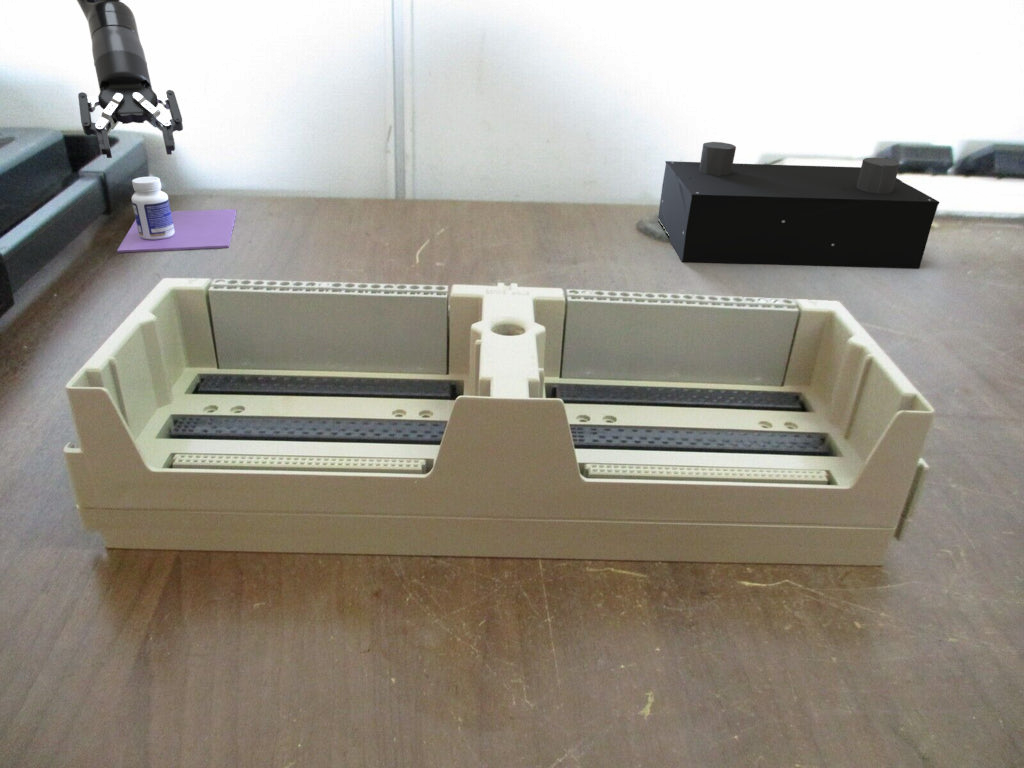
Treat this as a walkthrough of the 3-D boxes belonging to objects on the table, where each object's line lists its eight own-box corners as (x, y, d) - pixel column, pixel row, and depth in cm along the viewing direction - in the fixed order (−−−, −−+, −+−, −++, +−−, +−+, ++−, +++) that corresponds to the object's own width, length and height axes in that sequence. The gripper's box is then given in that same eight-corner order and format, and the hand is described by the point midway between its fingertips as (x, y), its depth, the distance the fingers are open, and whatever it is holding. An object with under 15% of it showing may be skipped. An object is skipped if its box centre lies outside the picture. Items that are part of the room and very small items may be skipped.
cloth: (117, 253, 116) (116, 250, 116) (140, 214, 133) (139, 212, 132) (228, 247, 119) (228, 245, 119) (236, 211, 136) (236, 208, 136)
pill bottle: (181, 231, 124) (171, 176, 120) (164, 241, 120) (153, 184, 115) (150, 229, 125) (139, 174, 120) (132, 239, 120) (120, 182, 116)
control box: (681, 261, 120) (696, 165, 113) (655, 216, 141) (665, 132, 134) (919, 268, 121) (948, 173, 114) (856, 222, 142) (878, 139, 135)
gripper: (66, 49, 116) (84, 142, 112) (167, 48, 121) (187, 136, 118) (75, 81, 122) (92, 170, 119) (170, 79, 128) (189, 163, 125)
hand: (139, 153), depth 118 cm, fingers open, 8 cm apart
